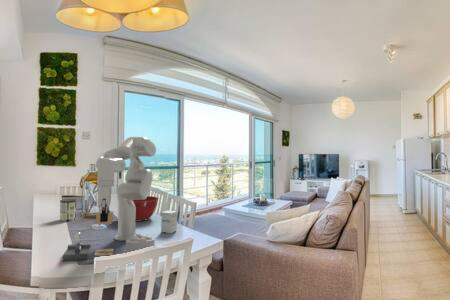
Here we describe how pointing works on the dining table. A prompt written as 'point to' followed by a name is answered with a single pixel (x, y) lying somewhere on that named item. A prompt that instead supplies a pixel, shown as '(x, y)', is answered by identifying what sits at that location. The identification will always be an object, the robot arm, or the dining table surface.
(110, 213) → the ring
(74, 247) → the vise block
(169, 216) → the supplement box
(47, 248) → the dining table surface
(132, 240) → the lumpy-topped squat cylinder
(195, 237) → the dining table surface
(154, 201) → the mixing bowl
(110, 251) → the cork pad
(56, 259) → the dining table surface
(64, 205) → the coffee can
